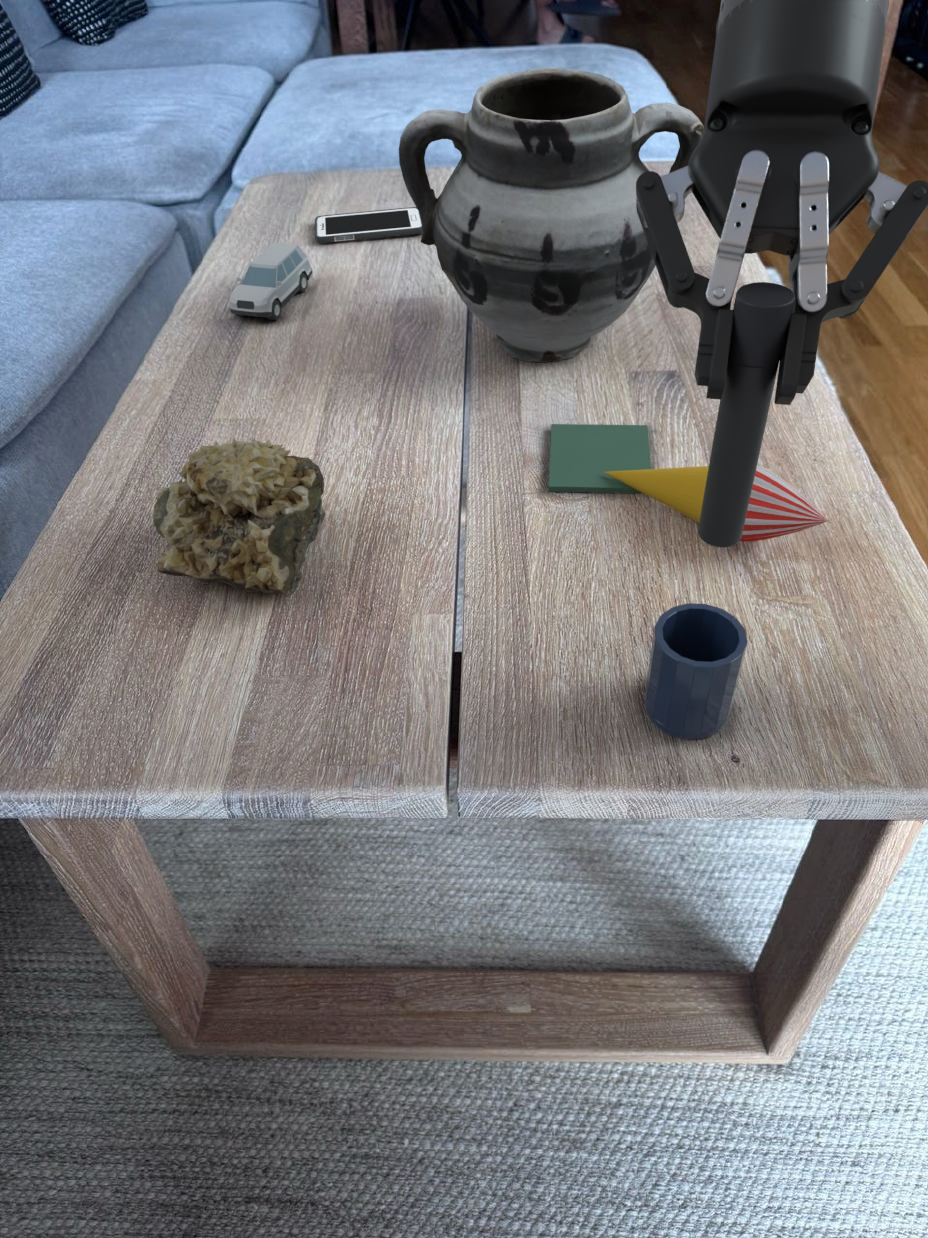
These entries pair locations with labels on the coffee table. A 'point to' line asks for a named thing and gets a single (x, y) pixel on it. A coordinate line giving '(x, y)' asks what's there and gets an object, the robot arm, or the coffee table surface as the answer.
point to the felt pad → (596, 456)
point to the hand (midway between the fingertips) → (750, 396)
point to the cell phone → (368, 225)
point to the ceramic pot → (543, 204)
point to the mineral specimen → (241, 516)
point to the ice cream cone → (768, 509)
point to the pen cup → (694, 670)
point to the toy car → (271, 281)
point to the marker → (744, 408)
